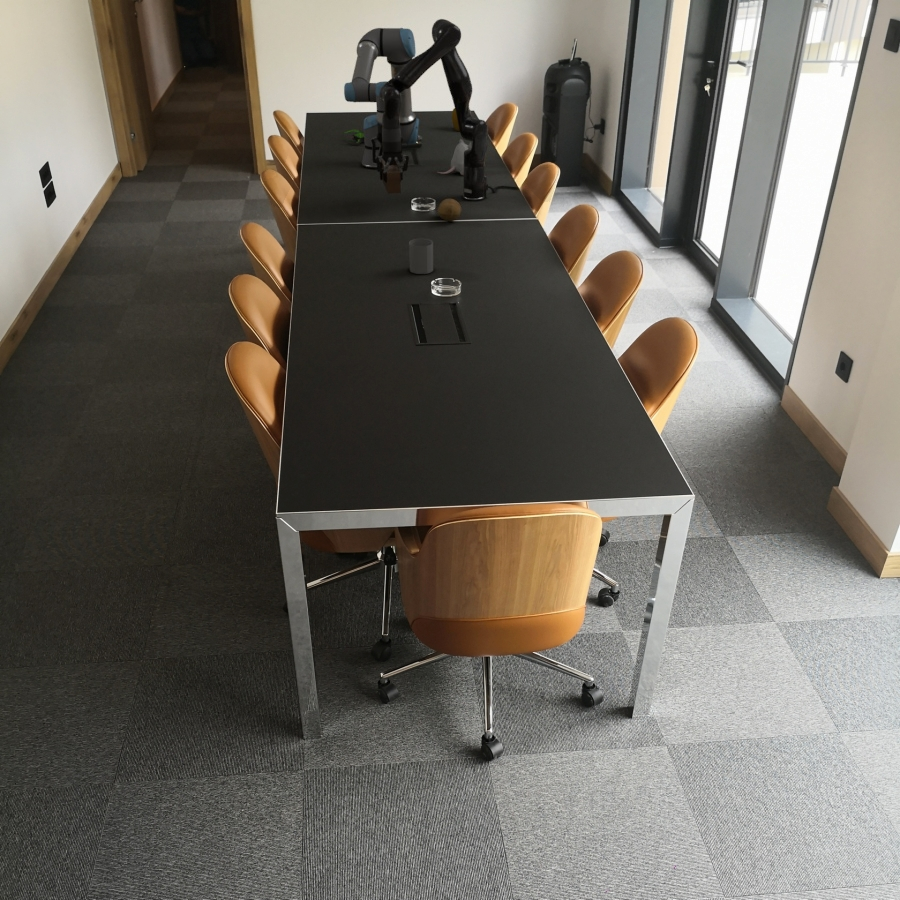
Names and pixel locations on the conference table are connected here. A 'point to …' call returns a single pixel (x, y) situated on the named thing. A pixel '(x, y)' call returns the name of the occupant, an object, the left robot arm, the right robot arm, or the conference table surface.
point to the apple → (455, 120)
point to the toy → (458, 158)
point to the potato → (449, 209)
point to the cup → (421, 256)
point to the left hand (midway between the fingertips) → (388, 178)
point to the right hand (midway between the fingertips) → (393, 181)
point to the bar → (392, 178)
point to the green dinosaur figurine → (356, 137)
